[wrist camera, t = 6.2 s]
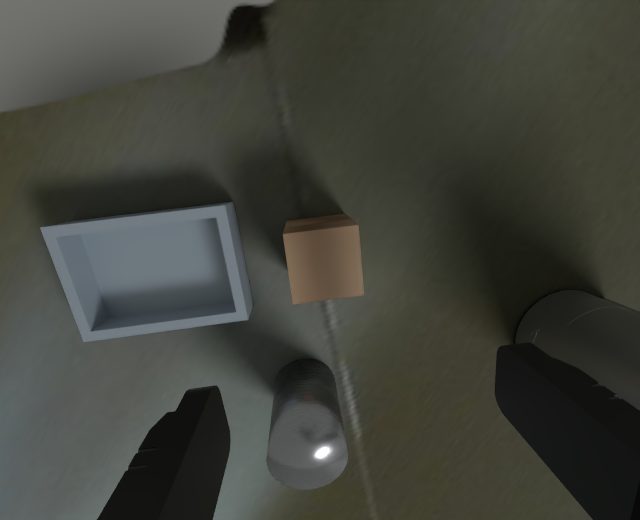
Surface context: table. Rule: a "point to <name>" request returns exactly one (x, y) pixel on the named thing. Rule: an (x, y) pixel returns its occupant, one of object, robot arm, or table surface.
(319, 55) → the table surface
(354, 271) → the walnut block
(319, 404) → the grey can
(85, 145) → the table surface
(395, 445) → the table surface
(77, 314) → the slate tray
